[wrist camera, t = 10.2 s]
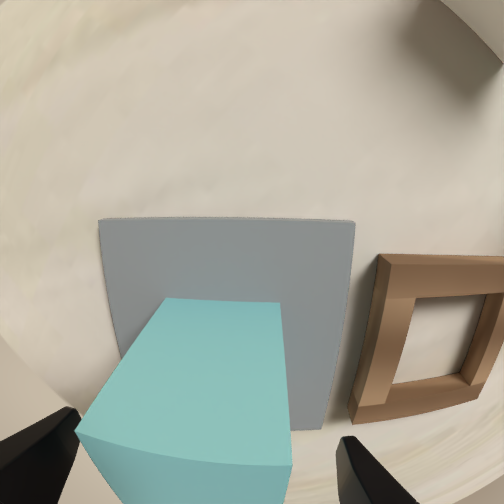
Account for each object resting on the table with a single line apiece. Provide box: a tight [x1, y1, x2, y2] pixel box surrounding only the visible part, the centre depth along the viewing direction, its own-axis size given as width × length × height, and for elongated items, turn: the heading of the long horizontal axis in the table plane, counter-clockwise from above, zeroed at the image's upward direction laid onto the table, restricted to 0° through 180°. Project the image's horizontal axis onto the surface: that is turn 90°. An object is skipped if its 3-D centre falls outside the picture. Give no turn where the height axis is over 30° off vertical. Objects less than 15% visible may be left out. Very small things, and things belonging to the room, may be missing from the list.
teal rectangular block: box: [75, 298, 292, 504], centre depth 9 cm, size 5×5×8 cm
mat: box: [98, 217, 355, 431], centre depth 13 cm, size 12×11×1 cm
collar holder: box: [347, 254, 504, 425], centre depth 13 cm, size 9×9×2 cm
